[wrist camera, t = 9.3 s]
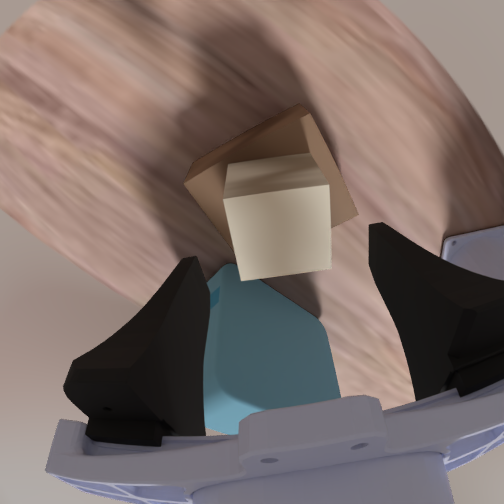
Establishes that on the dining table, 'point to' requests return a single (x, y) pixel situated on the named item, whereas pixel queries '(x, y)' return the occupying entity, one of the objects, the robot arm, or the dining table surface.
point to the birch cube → (278, 216)
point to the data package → (260, 353)
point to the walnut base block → (260, 147)
